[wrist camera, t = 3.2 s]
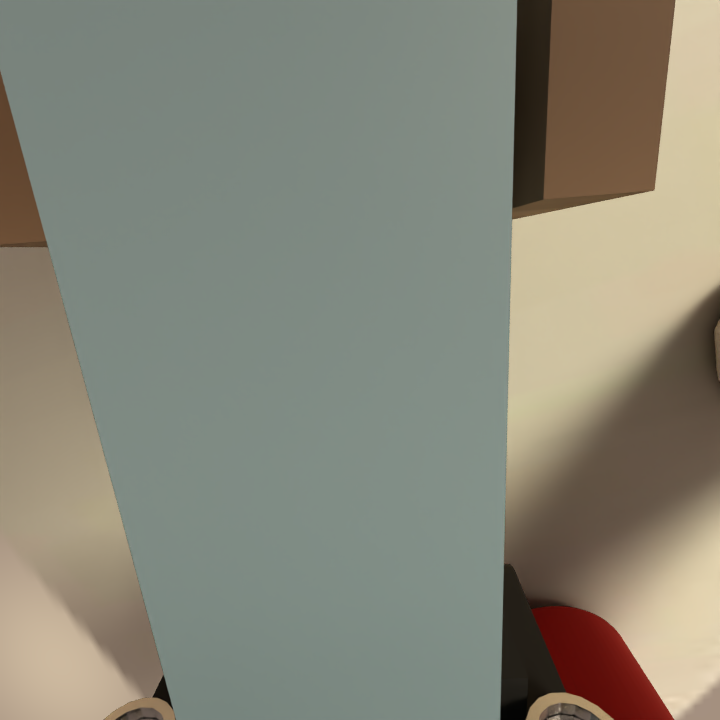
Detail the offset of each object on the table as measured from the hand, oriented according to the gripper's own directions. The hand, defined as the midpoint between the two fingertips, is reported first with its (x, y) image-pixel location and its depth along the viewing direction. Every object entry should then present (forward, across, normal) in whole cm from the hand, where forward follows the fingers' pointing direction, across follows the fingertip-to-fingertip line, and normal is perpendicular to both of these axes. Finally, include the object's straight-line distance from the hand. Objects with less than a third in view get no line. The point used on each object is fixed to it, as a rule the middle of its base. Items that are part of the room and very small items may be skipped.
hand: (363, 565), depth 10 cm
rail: (-1, 0, 0) cm, 1 cm away
